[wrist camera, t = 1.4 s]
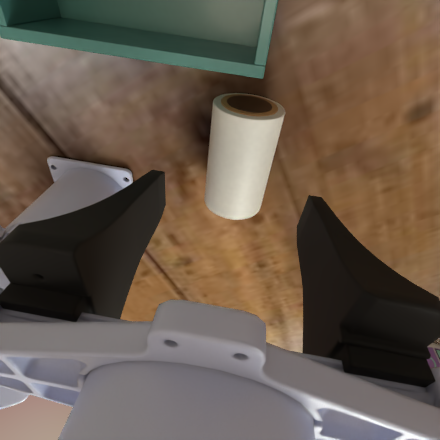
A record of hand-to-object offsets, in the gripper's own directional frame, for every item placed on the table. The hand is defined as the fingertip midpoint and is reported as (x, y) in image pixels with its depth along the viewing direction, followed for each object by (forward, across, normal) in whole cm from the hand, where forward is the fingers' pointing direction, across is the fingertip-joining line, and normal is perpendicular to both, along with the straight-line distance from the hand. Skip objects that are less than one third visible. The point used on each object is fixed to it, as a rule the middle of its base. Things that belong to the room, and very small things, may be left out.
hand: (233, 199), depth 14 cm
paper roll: (+10, -1, +2) cm, 10 cm away
